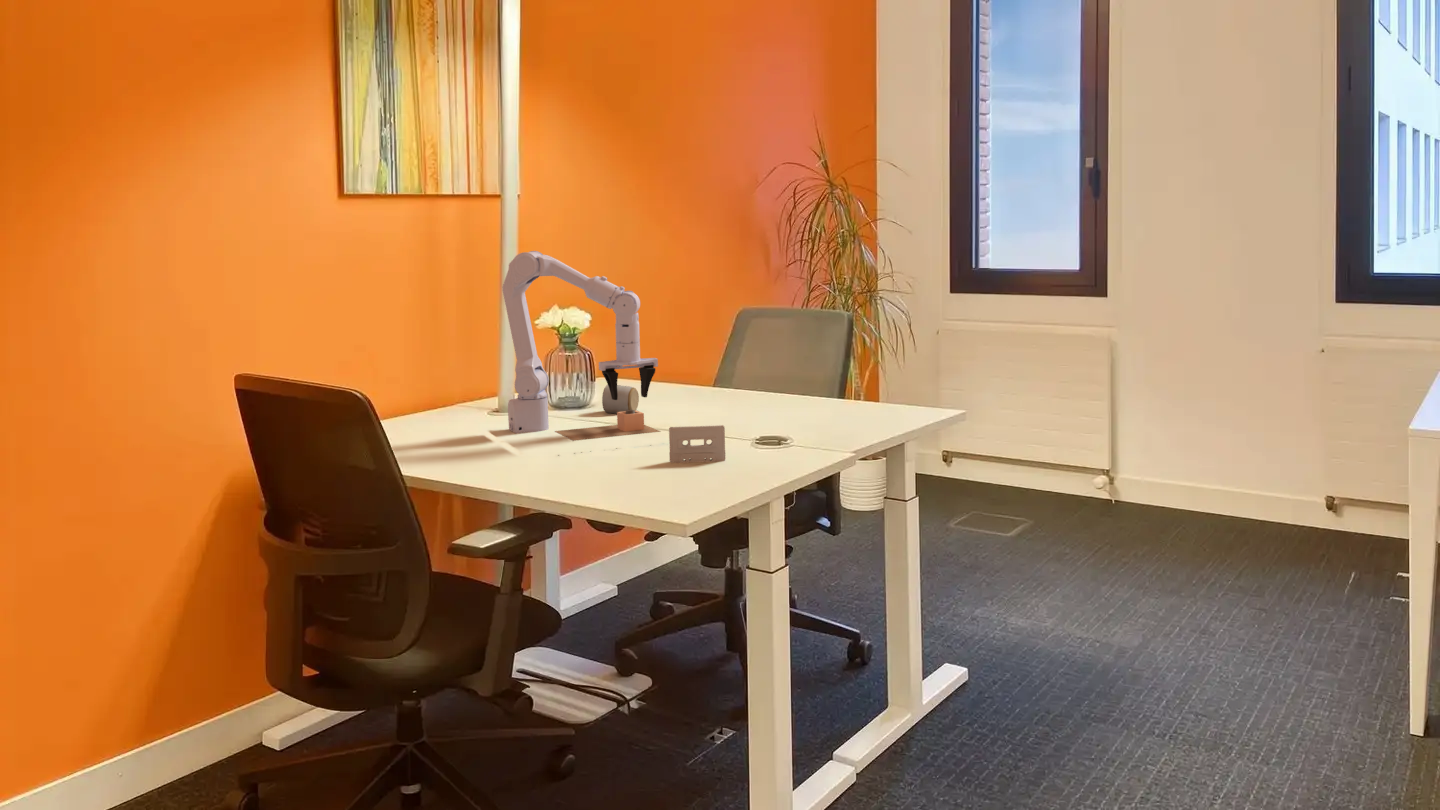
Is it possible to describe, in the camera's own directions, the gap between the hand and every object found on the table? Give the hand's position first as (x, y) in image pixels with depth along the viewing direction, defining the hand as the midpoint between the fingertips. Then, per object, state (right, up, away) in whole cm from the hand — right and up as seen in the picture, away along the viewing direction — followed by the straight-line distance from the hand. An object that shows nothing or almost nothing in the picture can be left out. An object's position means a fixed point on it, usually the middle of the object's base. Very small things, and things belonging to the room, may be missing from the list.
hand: (629, 398), depth 298 cm
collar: (0, -7, +1) cm, 8 cm away
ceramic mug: (-4, -4, +32) cm, 33 cm away
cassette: (+17, -14, -33) cm, 39 cm away
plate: (-5, -9, -1) cm, 10 cm away
